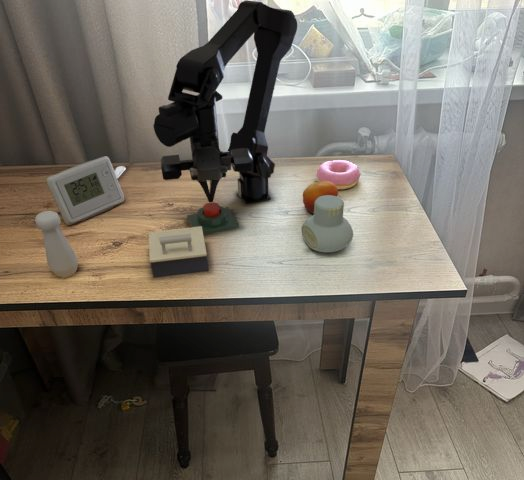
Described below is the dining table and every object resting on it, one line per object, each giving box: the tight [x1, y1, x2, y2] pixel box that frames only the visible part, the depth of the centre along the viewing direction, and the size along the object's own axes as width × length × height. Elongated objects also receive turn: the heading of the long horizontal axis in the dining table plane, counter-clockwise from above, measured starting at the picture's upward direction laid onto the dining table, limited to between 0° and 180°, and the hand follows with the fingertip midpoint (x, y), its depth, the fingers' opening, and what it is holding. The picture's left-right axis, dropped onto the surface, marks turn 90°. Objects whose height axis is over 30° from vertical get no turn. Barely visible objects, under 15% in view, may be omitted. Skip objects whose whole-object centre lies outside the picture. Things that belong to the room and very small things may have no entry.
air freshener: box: [301, 195, 354, 253], centre depth 104 cm, size 11×8×10 cm
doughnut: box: [315, 159, 362, 190], centre depth 126 cm, size 11×11×4 cm
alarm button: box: [202, 202, 220, 217], centre depth 112 cm, size 4×4×2 cm
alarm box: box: [186, 205, 240, 236], centre depth 114 cm, size 10×8×3 cm
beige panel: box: [148, 226, 208, 264], centre depth 100 cm, size 10×11×4 cm
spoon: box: [114, 165, 127, 180], centre depth 130 cm, size 5×18×1 cm, turn 171°
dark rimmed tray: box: [150, 255, 210, 279], centre depth 103 cm, size 10×11×4 cm
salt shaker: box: [34, 210, 79, 279], centre depth 98 cm, size 6×6×13 cm
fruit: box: [302, 181, 339, 214], centre depth 116 cm, size 8×8×8 cm
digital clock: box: [45, 155, 125, 226], centre depth 117 cm, size 16×9×11 cm, turn 124°
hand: (210, 201), depth 111 cm, fingers closed
